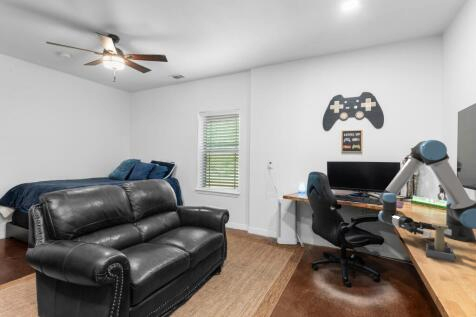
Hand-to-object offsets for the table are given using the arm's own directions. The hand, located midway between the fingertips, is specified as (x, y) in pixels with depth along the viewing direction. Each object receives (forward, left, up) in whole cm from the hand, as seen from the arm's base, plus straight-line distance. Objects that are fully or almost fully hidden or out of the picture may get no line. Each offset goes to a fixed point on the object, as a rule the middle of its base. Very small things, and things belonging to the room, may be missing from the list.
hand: (440, 233), depth 121 cm
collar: (-10, -12, -12) cm, 19 cm away
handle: (0, -1, -11) cm, 11 cm away
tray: (0, -1, -12) cm, 12 cm away
